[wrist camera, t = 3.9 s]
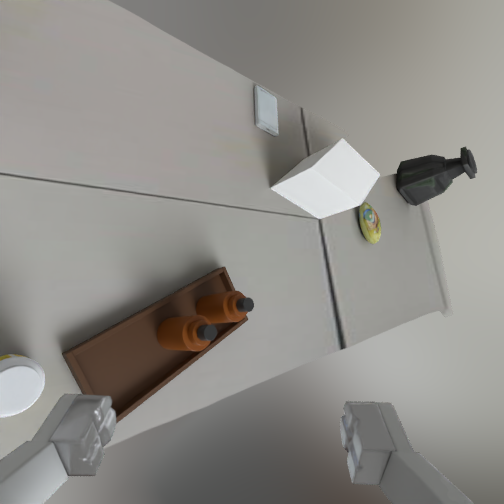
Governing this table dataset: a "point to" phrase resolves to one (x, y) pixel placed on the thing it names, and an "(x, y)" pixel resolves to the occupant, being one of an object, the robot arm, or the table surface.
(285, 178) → the box
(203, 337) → the amber bottle middle
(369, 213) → the cell model
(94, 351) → the tray
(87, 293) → the table surface
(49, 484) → the robot arm
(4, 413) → the pill bottle
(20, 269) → the table surface
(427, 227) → the table surface
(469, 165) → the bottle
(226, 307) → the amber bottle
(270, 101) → the hard drive
